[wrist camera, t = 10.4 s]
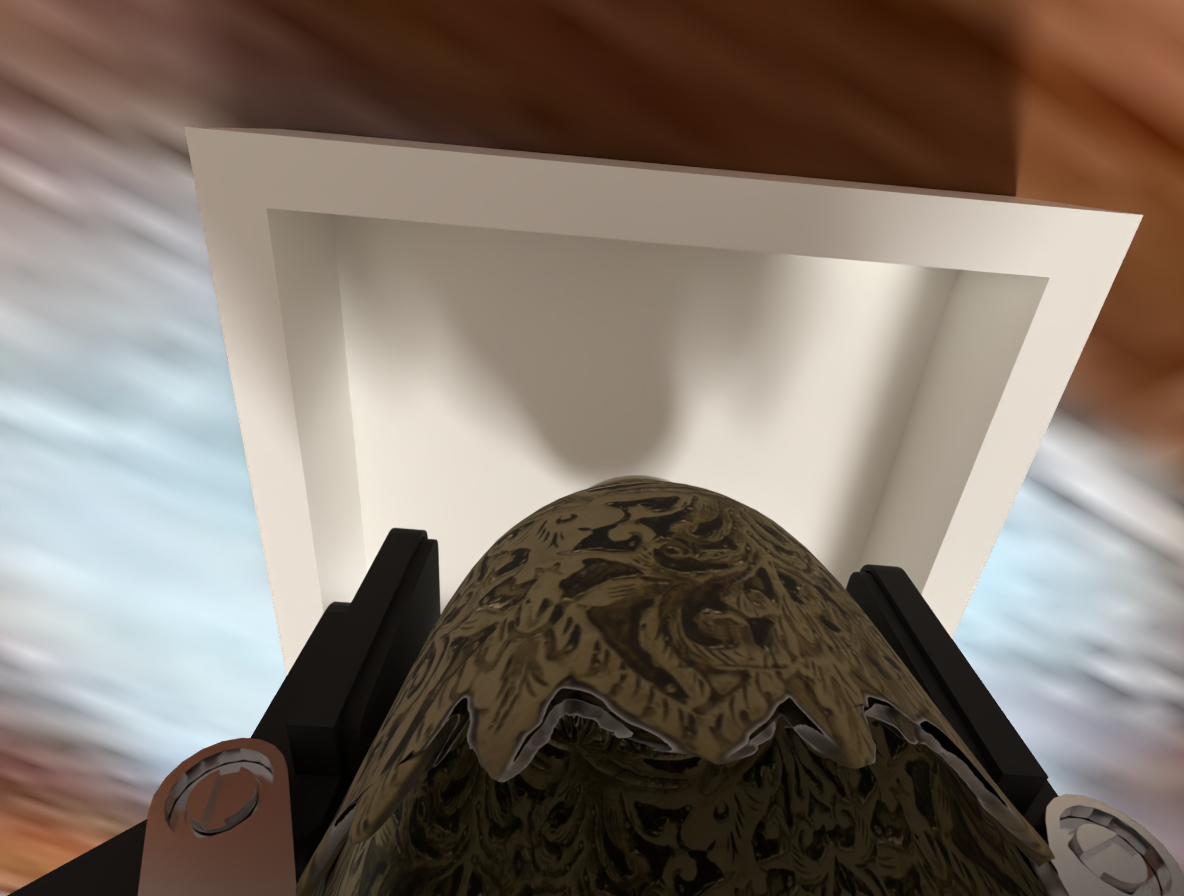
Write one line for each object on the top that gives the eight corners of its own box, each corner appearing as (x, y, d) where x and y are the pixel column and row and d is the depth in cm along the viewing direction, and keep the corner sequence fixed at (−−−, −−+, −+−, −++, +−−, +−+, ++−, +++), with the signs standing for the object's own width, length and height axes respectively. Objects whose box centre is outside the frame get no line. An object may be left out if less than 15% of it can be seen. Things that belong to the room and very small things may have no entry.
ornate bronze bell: (893, 510, 13) (1275, 1000, 5) (659, 714, 15) (711, 1223, 8) (597, 285, 11) (590, 586, 4) (390, 564, 13) (147, 1055, 6)
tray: (1017, 196, 12) (1143, 215, 9) (832, 708, 18) (874, 811, 16) (283, 129, 12) (184, 126, 9) (350, 676, 18) (305, 775, 15)
